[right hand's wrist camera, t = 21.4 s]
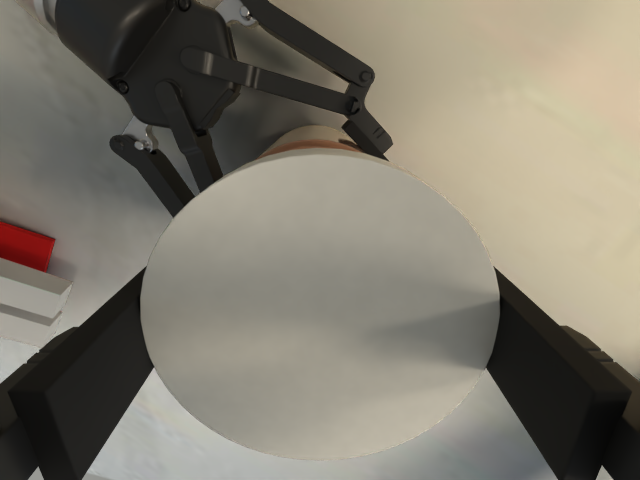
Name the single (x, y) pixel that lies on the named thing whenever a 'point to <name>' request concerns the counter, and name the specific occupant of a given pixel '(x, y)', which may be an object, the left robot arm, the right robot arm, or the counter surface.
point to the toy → (29, 287)
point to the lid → (320, 305)
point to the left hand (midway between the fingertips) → (354, 238)
